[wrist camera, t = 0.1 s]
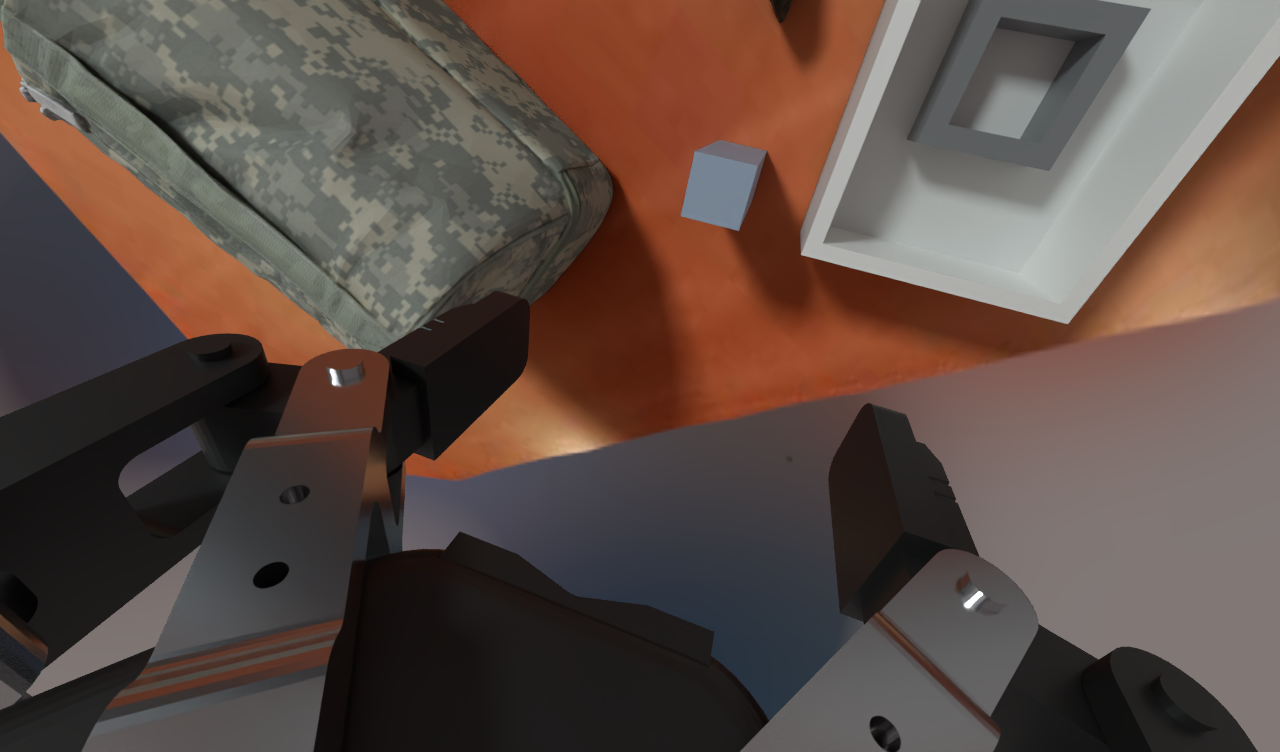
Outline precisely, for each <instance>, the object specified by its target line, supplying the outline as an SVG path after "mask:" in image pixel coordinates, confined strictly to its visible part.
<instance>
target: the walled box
mask: <svg viewBox="0 0 1280 752" xmlns="http://www.w3.org/2000/svg"><path fill="white" fill-rule="evenodd" d="M1279 56H1280V0H885V2H884V5H883V8H882V11H881V13H880V16H879V19H878V21H877V24H876V27H875V29H874V32H873V35H872V38H871V40H870V43H869V46H868V48H867V51H866V54H865V56H864V59H863V62H862V65H861V67H860V70H859V73H858V75H857V78H856V81H855V83H854V86H853V89H852V92H851V94H850V97H849V100H848V102H847V105H846V108H845V111H844V113H843V116H842V119H841V121H840V124H839V127H838V129H837V132H836V135H835V138H834V140H833V143H832V146H831V148H830V151H829V154H828V156H827V159H826V162H825V165H824V167H823V170H822V173H821V175H820V178H819V181H818V183H817V186H816V189H815V192H814V194H813V197H812V200H811V202H810V205H809V208H808V211H807V213H806V216H805V219H804V221H803V224H802V227H801V229H800V240H801V255H803V256H807V257H811V258H815V259H819V260H822V261H826V262H830V263H834V264H838V265H842V266H846V267H849V268H853V269H857V270H861V271H865V272H869V273H873V274H876V275H880V276H884V277H888V278H892V279H896V280H899V281H903V282H907V283H911V284H915V285H919V286H923V287H926V288H930V289H934V290H938V291H942V292H946V293H950V294H953V295H957V296H961V297H965V298H969V299H973V300H976V301H980V302H984V303H988V304H992V305H996V306H1000V307H1003V308H1007V309H1011V310H1015V311H1019V312H1023V313H1027V314H1030V315H1034V316H1038V317H1042V318H1046V319H1050V320H1053V321H1057V322H1061V323H1065V324H1068V323H1069V322H1070V321H1071V320H1072V318H1073V317H1074V316H1075V315H1076V313H1077V312H1078V311H1079V309H1080V308H1081V307H1082V306H1083V304H1084V303H1085V302H1086V301H1087V299H1088V298H1089V297H1090V296H1091V294H1092V293H1093V292H1094V290H1095V289H1096V288H1097V287H1098V285H1099V284H1100V283H1101V282H1102V280H1103V279H1104V278H1105V277H1106V275H1107V274H1108V273H1109V271H1110V270H1111V269H1112V268H1113V266H1114V265H1115V264H1116V263H1117V261H1118V260H1119V259H1120V258H1121V256H1122V255H1123V254H1124V252H1125V251H1126V250H1127V249H1128V247H1129V246H1130V245H1131V244H1132V242H1133V241H1134V240H1135V239H1136V237H1137V236H1138V235H1139V233H1140V232H1141V231H1142V230H1143V228H1144V227H1145V226H1146V225H1147V223H1148V222H1149V221H1150V219H1151V218H1152V217H1153V216H1154V214H1155V213H1156V212H1157V211H1158V209H1159V208H1160V207H1161V206H1162V204H1163V203H1164V202H1165V200H1166V199H1167V198H1168V197H1169V195H1170V194H1171V193H1172V192H1173V190H1174V189H1175V188H1176V187H1177V185H1178V184H1179V183H1180V181H1181V180H1182V179H1183V178H1184V176H1185V175H1186V174H1187V173H1188V171H1189V170H1190V169H1191V168H1192V166H1193V165H1194V164H1195V162H1196V161H1197V160H1198V159H1199V157H1200V156H1201V155H1202V154H1203V152H1204V151H1205V150H1206V149H1207V147H1208V146H1209V145H1210V143H1211V142H1212V141H1213V140H1214V138H1215V137H1216V136H1217V135H1218V133H1219V132H1220V131H1221V129H1222V128H1223V127H1224V126H1225V124H1226V123H1227V122H1228V121H1229V119H1230V118H1231V117H1232V116H1233V114H1234V113H1235V112H1236V110H1237V109H1238V108H1239V107H1240V105H1241V104H1242V103H1243V102H1244V100H1245V99H1246V98H1247V97H1248V95H1249V94H1250V93H1251V91H1252V90H1253V89H1254V88H1255V86H1256V85H1257V84H1258V83H1259V81H1260V80H1261V79H1262V78H1263V76H1264V75H1265V74H1266V72H1267V71H1268V70H1269V69H1270V67H1271V66H1272V65H1273V64H1274V62H1275V61H1276V60H1277V59H1278V57H1279Z"/></svg>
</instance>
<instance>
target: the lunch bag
mask: <svg viewBox="0 0 1280 752" xmlns="http://www.w3.org/2000/svg"><path fill="white" fill-rule="evenodd" d="M0 21H1V22H2V27H3V33H4V41H5V44H4V47H5V48H6V50H7V51H8V52H9V53H10V54H11V56H12V58H13V61H14V63H15V66H16V68H17V70H18V72H19V74H20V75H21V76H22V77H23V78H22V81H21V82H20V84H21V85H22V87H20V88H19V89H20V92H21V94H22V95H23V96H24V97H25V98H26V100H27V101H28V102H38V103H40V104H41V108H40V111H41V113H42V114H43V115H44V116H46V117H48V118H50V119H51V120H53V121H56V120H63V121H65V122H66V123H68V124H69V125H71V126H74V127H75V128H76V129H77V130H79V131H80V132H81V133H82V134H83V135H84V136H85V137H86V138H87V139H89V140H90V141H91V142H92V143H93V144H94V145H95V146H96V147H97V148H99V149H100V150H101V151H102V152H103V153H104V154H106V155H107V156H108V157H109V158H111V159H113V160H114V161H116V162H118V163H119V164H121V165H122V166H123V167H125V168H126V169H127V170H129V171H130V172H131V173H132V174H133V175H134V176H135V177H136V178H137V179H138V180H140V181H141V182H142V183H143V184H144V185H145V186H146V187H147V188H149V189H150V190H151V191H153V192H154V193H155V194H156V195H158V196H159V197H160V198H162V199H163V200H164V201H165V202H167V203H168V204H169V205H171V206H172V207H173V208H175V209H176V210H177V211H179V212H180V213H181V214H182V215H184V216H185V217H186V218H187V219H188V220H189V221H190V222H191V223H192V224H194V225H195V226H196V227H197V228H198V229H199V230H200V231H201V232H202V233H204V234H205V235H206V236H207V237H208V238H209V239H210V240H211V241H213V242H214V243H215V244H216V245H217V246H219V247H220V248H222V249H223V250H224V251H226V252H227V253H228V254H230V255H231V256H233V257H234V258H235V259H237V260H238V261H239V262H241V263H242V264H243V265H245V266H246V267H247V268H248V269H249V270H250V271H251V272H253V273H254V274H256V275H257V276H259V277H261V278H263V279H265V280H267V281H268V282H270V283H271V284H272V285H273V286H274V287H276V288H277V289H278V290H279V291H280V292H282V293H283V294H284V295H285V296H286V297H288V298H289V299H290V300H291V301H293V302H294V303H295V304H296V305H298V306H299V307H300V308H301V309H303V310H304V311H305V312H307V313H308V314H309V315H311V316H312V317H313V318H315V319H316V320H317V321H319V323H320V324H321V326H322V327H323V328H324V329H325V330H326V331H327V332H328V333H329V334H330V335H332V336H333V337H334V338H336V339H337V340H338V341H340V342H341V343H342V344H343V345H344V346H346V347H347V348H348V349H366V350H371V351H374V352H378V351H380V350H382V349H384V348H385V347H387V346H389V345H390V344H392V343H394V342H395V341H397V340H399V339H401V338H402V337H404V336H406V335H407V334H409V333H411V332H412V331H414V330H416V329H418V328H422V326H423V325H424V324H426V323H428V322H429V321H431V320H435V318H436V317H438V316H440V315H441V314H443V313H445V312H446V311H448V310H450V309H452V308H456V307H460V306H464V305H468V304H471V303H472V304H474V303H476V302H478V301H479V300H481V299H483V298H484V297H486V296H487V295H489V294H491V293H492V292H494V291H501V292H504V293H507V294H511V295H514V296H517V297H521V298H524V299H526V300H527V301H528V302H529V306H531V305H532V304H533V303H534V302H535V301H537V300H538V299H539V298H540V297H542V296H543V295H544V294H545V293H546V292H547V291H548V290H549V289H550V288H551V287H552V286H553V284H554V283H555V282H556V281H557V280H558V278H559V277H560V276H561V275H562V274H563V273H564V271H565V270H566V269H567V268H568V267H569V266H570V264H571V263H572V262H573V261H574V260H575V259H576V257H577V256H578V255H579V254H580V252H581V251H582V250H583V249H584V248H585V246H586V245H587V244H588V242H589V241H590V240H591V238H592V237H593V236H594V234H595V233H596V231H597V230H598V228H599V226H600V225H601V223H602V221H603V219H604V217H605V215H606V213H607V211H608V209H609V207H610V204H611V200H612V197H613V184H612V180H611V177H610V175H609V173H608V171H607V169H606V167H605V166H604V165H603V164H602V162H601V161H600V159H599V158H598V157H597V156H596V155H595V154H594V153H593V152H592V151H591V150H590V149H589V148H588V147H587V146H586V145H585V144H584V143H583V142H582V141H581V140H580V139H579V138H578V137H577V136H576V135H575V134H574V133H573V132H572V131H571V130H570V129H569V128H568V127H567V126H566V125H565V124H564V123H563V122H562V121H561V120H560V119H559V118H558V117H557V116H556V115H555V114H554V113H553V112H552V111H551V110H550V109H549V108H548V107H547V106H546V105H545V104H544V103H543V101H542V100H541V99H540V98H539V97H538V96H537V95H536V94H535V93H534V92H533V91H532V90H531V89H530V88H529V87H528V86H527V84H526V83H525V82H524V81H523V80H522V79H521V78H520V77H519V76H518V75H517V74H516V73H515V72H514V71H513V70H512V69H511V68H510V67H509V66H508V65H505V64H504V63H503V62H502V61H501V60H500V59H499V58H497V57H496V56H495V55H494V54H493V53H492V51H491V50H490V49H489V48H488V47H487V46H486V45H485V44H484V43H483V42H482V41H481V40H480V39H479V38H478V37H477V35H476V34H475V33H474V32H473V31H472V30H471V29H470V28H469V27H468V26H467V25H466V24H465V23H464V22H463V21H462V20H461V19H460V18H459V17H458V16H457V15H456V14H455V13H454V12H453V11H452V10H451V9H450V8H449V7H448V6H447V5H446V4H445V3H444V2H443V1H442V0H0Z"/></svg>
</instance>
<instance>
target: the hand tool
mask: <svg viewBox="0 0 1280 752" xmlns="http://www.w3.org/2000/svg"><path fill="white" fill-rule="evenodd" d="M770 1H771V3H772V5H773V8H774V11H775V14H776V17H777V19H778V21H779V23H781V22H782V21H783V20H784V19H785V17H786V14H787V11H788V10H789V8H790V5H791V1H792V0H770Z"/></svg>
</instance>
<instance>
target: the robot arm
mask: <svg viewBox="0 0 1280 752" xmlns="http://www.w3.org/2000/svg"><path fill="white" fill-rule="evenodd" d="M529 319H530V306H529V302H528V301H527V300H526V299H524V298H521V297H517V296H514V295H511V294H507V293H504V292H501V291H494V292H492V293H491V294H489V295H487V296H486V297H484V298H483V299H481V300H479V301H478V302H476V303H474V304H472V303H471V304H468V305H464V306H460V307H456V308H452V309H450V310H448V311H446V312H445V313H443V314H441V315H440V316H438V317H436V318H435V320H431V321H429V322H428V323H426V324H424V325H423V326H422V328H418V329H416V330H414V331H412V332H411V333H409V334H407V335H406V336H404V337H402V338H401V339H399V340H397V341H395V342H394V343H392V344H390V345H389V346H387V347H385V348H384V349H382V350H380V351H378V352H374V351H371V350H366V349H342V350H335V351H331V352H327V353H324V354H321V355H319V356H316V357H314V358H313V359H311V360H309V361H308V362H307V363H305V364H304V365H303V366H296V365H287V364H277V363H268V362H267V359H266V356H265V353H264V350H263V347H262V344H261V343H260V342H259V340H257V339H255V338H253V337H250V336H247V335H241V334H212V335H206V336H200V337H196V338H192V339H188V340H185V341H182V342H180V343H177V344H175V345H172V346H170V347H168V348H165V349H163V350H160V351H158V352H156V353H153V354H151V355H148V356H146V357H144V358H141V359H139V360H136V361H134V362H132V363H129V364H127V365H124V366H122V367H120V368H117V369H115V370H112V371H110V372H108V373H105V374H103V375H100V376H98V377H96V378H93V379H91V380H88V381H86V382H84V383H82V384H79V385H77V386H74V387H72V388H69V389H67V390H65V391H62V392H60V393H57V394H55V395H53V396H50V397H48V398H46V399H43V400H41V401H38V402H36V403H33V404H31V405H29V406H26V407H24V408H21V409H19V410H17V411H14V412H12V413H10V414H7V415H5V416H2V417H0V752H1258V751H1257V750H1256V748H1255V747H1254V745H1253V744H1252V742H1251V741H1250V739H1249V738H1248V736H1247V735H1246V733H1245V732H1244V730H1243V729H1242V728H1241V727H1240V725H1239V724H1238V722H1237V721H1236V720H1235V719H1234V718H1233V716H1232V715H1231V714H1230V713H1229V712H1228V711H1227V709H1226V708H1225V707H1224V706H1222V704H1221V703H1220V702H1219V701H1218V700H1217V699H1216V698H1215V697H1214V696H1212V695H1211V694H1210V693H1209V692H1208V691H1207V690H1206V689H1205V688H1204V687H1202V686H1201V685H1200V684H1199V683H1197V682H1196V681H1195V680H1194V679H1193V678H1191V677H1190V676H1188V675H1187V674H1186V673H1184V672H1183V671H1181V670H1180V669H1178V668H1177V667H1175V666H1174V665H1172V664H1170V663H1169V662H1167V661H1165V660H1163V659H1162V658H1160V657H1158V656H1156V655H1153V654H1151V653H1149V652H1147V651H1144V650H1141V649H1138V648H1132V647H1120V648H1116V649H1115V650H1113V651H1112V652H1110V653H1108V654H1107V655H1105V656H1104V657H1102V658H1101V659H1099V660H1098V659H1096V658H1095V657H1093V656H1092V655H1090V654H1088V653H1086V652H1085V651H1083V650H1081V649H1080V648H1078V647H1076V646H1075V645H1073V644H1071V643H1069V642H1068V641H1066V640H1064V639H1063V638H1061V637H1059V636H1057V635H1056V634H1054V633H1052V632H1050V631H1049V630H1047V629H1046V628H1044V627H1042V626H1041V625H1039V624H1038V618H1037V614H1036V612H1035V610H1034V607H1033V606H1032V604H1031V602H1030V601H1029V599H1028V598H1027V596H1026V595H1025V594H1024V592H1023V591H1022V590H1021V589H1020V588H1019V587H1018V585H1017V584H1016V583H1015V582H1014V581H1012V579H1010V578H1009V577H1008V576H1007V575H1006V574H1005V573H1003V572H1002V571H1001V570H1000V569H998V568H997V567H996V566H994V565H993V564H991V563H989V562H987V561H986V560H984V559H983V558H981V557H979V554H978V552H977V549H976V547H975V544H974V542H973V540H972V537H971V535H970V532H969V530H968V527H967V525H966V522H965V520H964V518H963V515H962V513H961V510H960V508H959V505H958V503H956V502H955V500H956V498H955V496H954V493H953V491H952V488H951V487H950V486H948V485H949V481H948V478H947V476H946V473H945V471H944V468H943V466H942V464H941V462H940V461H939V460H938V459H937V458H936V457H935V456H934V454H933V453H932V452H931V451H930V450H929V449H928V448H927V446H926V445H925V444H923V443H919V442H916V440H915V437H914V435H913V432H912V429H911V426H910V423H909V421H908V418H907V416H906V415H905V414H903V413H900V412H897V411H893V410H890V409H887V408H883V407H880V406H877V405H873V404H870V403H867V404H866V405H864V406H863V407H862V409H861V410H860V412H859V413H858V415H857V417H856V419H855V420H854V422H853V424H852V426H851V427H850V429H849V431H848V433H847V434H846V436H845V438H844V440H843V441H842V443H841V445H840V447H839V448H838V450H837V452H836V454H835V456H834V458H833V461H832V463H831V467H830V471H829V479H828V481H829V494H830V505H831V516H832V528H833V539H834V551H835V562H836V573H837V585H838V596H839V608H840V613H841V614H844V615H847V616H850V617H852V618H855V619H858V620H860V621H863V622H864V626H863V627H862V628H861V629H860V630H859V631H858V632H857V633H856V634H855V635H854V636H853V637H852V638H851V639H850V640H849V641H848V642H847V643H846V644H845V645H844V646H843V647H842V648H841V649H840V650H839V651H838V652H837V653H836V654H835V655H834V656H833V657H832V658H831V659H830V660H829V661H828V662H827V663H826V664H825V665H824V666H823V668H821V669H820V671H818V673H816V675H815V676H814V677H813V678H812V679H811V680H810V681H809V682H808V683H807V684H806V685H805V686H804V687H803V688H802V689H801V690H800V691H799V692H798V693H797V694H796V695H795V696H794V697H793V698H792V699H791V700H790V701H789V702H788V703H787V704H786V705H785V706H784V707H783V708H782V709H781V710H780V711H779V712H778V713H777V714H776V715H775V716H774V717H773V719H771V721H769V719H768V718H767V716H766V714H765V713H764V711H763V710H762V708H761V707H760V705H759V704H758V703H757V701H756V700H755V699H754V697H753V696H752V695H751V693H750V692H749V691H748V690H747V689H746V687H745V686H744V685H743V684H742V683H741V682H740V681H739V680H738V679H737V677H736V676H734V674H732V673H731V672H730V671H729V670H728V669H727V668H726V667H725V666H724V665H723V664H721V663H720V662H719V661H718V660H716V659H715V658H713V657H712V656H711V650H712V644H713V637H714V632H713V631H711V630H708V629H706V628H703V627H701V626H698V625H695V624H693V623H691V622H688V621H686V620H683V619H680V618H678V617H675V616H673V615H670V614H668V613H665V612H663V611H660V610H658V609H655V608H653V607H650V606H647V605H639V604H632V603H624V602H616V601H608V600H600V599H592V598H583V597H578V596H575V595H573V594H571V593H569V592H567V591H566V590H565V589H563V588H562V587H561V586H559V585H558V584H557V583H555V582H554V581H553V580H551V579H550V578H549V577H547V576H546V575H545V574H543V573H542V572H541V571H539V570H538V569H537V568H535V567H534V566H532V565H531V564H530V563H529V562H527V561H526V560H525V559H523V558H522V557H521V556H519V555H518V554H516V553H513V552H510V551H508V550H505V549H503V548H500V547H498V546H495V545H493V544H490V543H488V542H485V541H482V540H480V539H477V538H475V537H472V536H470V535H467V534H465V533H462V532H459V533H458V534H457V536H456V537H455V538H454V539H453V541H452V542H451V543H450V544H449V546H448V547H447V548H446V550H441V549H419V550H410V551H402V535H403V534H402V533H403V517H404V500H405V481H406V465H405V460H406V459H407V458H408V457H409V456H410V455H412V454H413V453H416V454H418V455H421V456H424V457H426V458H429V459H432V460H436V459H437V458H438V457H439V456H440V455H441V454H442V453H443V452H444V451H445V450H446V449H447V448H448V447H449V446H450V445H451V444H452V443H453V442H454V441H455V440H456V439H457V438H458V437H459V436H460V435H461V434H462V433H463V432H464V431H465V430H466V429H467V428H468V427H469V426H470V425H471V424H472V423H473V422H474V421H475V420H476V419H477V418H478V417H480V416H481V415H482V414H483V413H484V412H485V411H486V410H487V409H488V408H489V407H490V406H491V405H492V404H493V403H494V402H495V401H496V400H497V399H498V398H499V397H500V396H501V395H502V394H503V393H504V392H505V391H506V390H507V389H508V388H509V387H510V386H511V385H512V384H513V383H514V382H515V381H516V380H517V379H518V378H519V377H520V376H521V374H522V372H523V370H524V368H525V366H526V362H527V358H528V343H529ZM188 426H190V428H191V430H192V431H193V434H194V436H195V438H196V440H197V442H198V444H199V445H200V448H201V451H200V452H198V453H197V454H195V455H194V456H192V457H190V458H188V459H187V460H185V461H184V462H182V463H181V464H179V465H177V466H176V467H174V468H173V469H171V470H169V471H168V472H166V473H165V474H163V475H161V476H160V477H158V478H157V479H155V480H153V481H152V482H150V483H149V484H147V485H146V486H144V487H142V488H141V489H139V490H137V491H136V492H134V493H133V494H131V495H129V496H128V497H126V498H125V496H124V495H123V493H122V492H121V490H120V488H119V485H118V479H119V475H120V473H121V471H122V469H123V468H124V467H125V465H126V464H127V463H128V462H129V461H131V460H132V459H133V458H134V457H136V456H137V455H139V454H141V453H143V452H144V451H146V450H148V449H149V448H151V447H153V446H155V445H156V444H158V443H160V442H162V441H163V440H165V439H167V438H169V437H171V436H172V435H174V434H176V433H177V432H179V431H181V430H183V429H185V428H186V427H188ZM199 545H201V546H200V548H199V550H198V553H197V555H196V557H195V559H194V561H193V564H192V566H191V569H190V570H189V573H188V575H187V577H186V580H185V582H184V584H183V586H182V588H181V591H180V593H179V595H178V597H177V600H176V602H175V604H174V606H173V609H172V611H171V613H170V615H169V618H168V620H167V623H166V624H165V626H164V629H163V631H162V633H161V635H160V638H159V640H158V642H157V645H156V647H153V648H151V649H148V650H146V651H143V652H141V653H139V654H136V655H134V656H131V657H129V658H126V659H124V660H121V661H119V662H117V663H114V664H111V665H109V666H107V667H104V668H102V669H99V670H97V671H94V672H92V673H89V674H87V675H84V676H82V677H80V678H77V679H75V680H72V681H70V682H67V683H65V684H62V685H60V686H57V687H55V688H52V689H50V690H48V691H45V692H43V693H40V694H38V695H36V696H33V697H32V696H31V695H29V694H28V693H27V692H26V691H27V690H28V689H29V688H30V687H31V685H32V684H33V683H34V682H35V680H36V679H37V677H38V676H39V675H40V673H41V671H42V670H43V669H44V668H45V667H47V666H48V665H49V664H50V663H52V662H53V661H54V660H56V659H57V658H58V657H59V656H61V655H62V654H63V653H64V652H65V651H67V650H68V649H69V648H71V647H72V646H73V645H75V644H76V643H77V642H78V641H80V640H81V639H82V638H83V637H85V636H86V635H87V634H88V633H90V632H91V631H92V630H94V629H95V628H96V627H97V626H98V625H100V624H101V623H102V622H104V621H105V620H106V619H107V618H109V617H110V616H111V615H112V614H113V613H115V612H116V611H117V610H119V609H120V608H121V607H123V606H124V605H125V604H126V603H127V602H129V601H130V600H131V599H133V598H134V597H135V596H136V595H138V594H139V593H140V592H141V591H143V590H144V589H145V588H146V587H148V586H149V585H150V584H152V583H153V582H154V581H155V580H156V579H158V578H159V577H160V576H161V575H163V574H164V573H165V572H167V571H168V570H169V569H170V568H172V567H173V566H174V565H176V564H177V563H178V562H179V561H181V560H182V559H183V558H184V557H186V556H187V555H188V554H189V553H191V552H192V551H193V550H194V549H196V548H197V547H198V546H199Z"/></svg>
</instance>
